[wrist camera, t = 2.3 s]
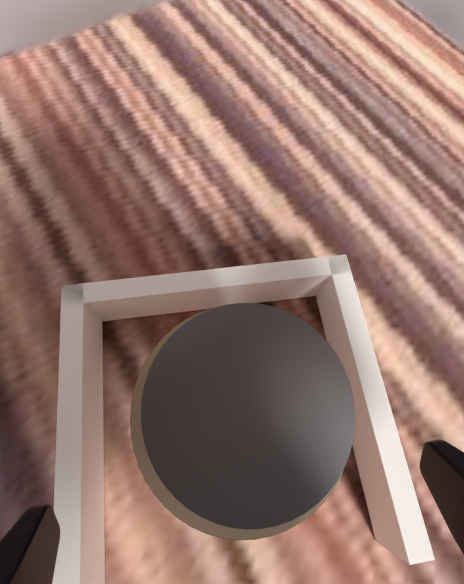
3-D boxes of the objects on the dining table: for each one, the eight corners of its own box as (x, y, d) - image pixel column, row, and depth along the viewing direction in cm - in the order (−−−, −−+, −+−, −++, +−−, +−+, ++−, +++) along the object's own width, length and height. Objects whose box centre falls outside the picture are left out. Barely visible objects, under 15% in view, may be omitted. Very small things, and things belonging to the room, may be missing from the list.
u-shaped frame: (396, 537, 16) (434, 559, 13) (80, 597, 15) (49, 636, 12) (328, 278, 21) (346, 254, 18) (83, 306, 19) (61, 285, 17)
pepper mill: (290, 433, 17) (441, 439, 6) (214, 494, 16) (211, 653, 5) (237, 357, 19) (273, 237, 7) (162, 409, 18) (60, 368, 6)
